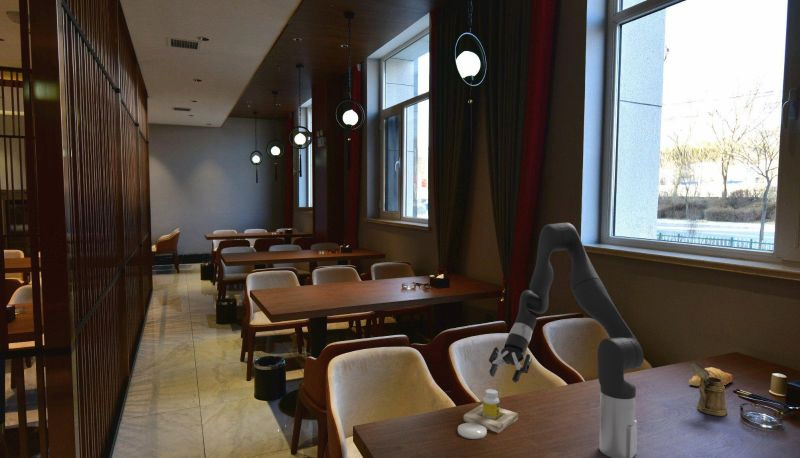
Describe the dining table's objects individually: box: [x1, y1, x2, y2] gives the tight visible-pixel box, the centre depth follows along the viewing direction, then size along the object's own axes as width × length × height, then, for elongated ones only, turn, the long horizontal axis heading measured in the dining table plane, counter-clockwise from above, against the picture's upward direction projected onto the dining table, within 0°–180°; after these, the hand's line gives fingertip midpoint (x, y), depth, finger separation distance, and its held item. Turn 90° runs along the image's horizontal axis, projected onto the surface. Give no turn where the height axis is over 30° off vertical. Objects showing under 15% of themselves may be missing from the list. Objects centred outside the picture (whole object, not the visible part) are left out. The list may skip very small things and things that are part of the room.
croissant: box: [688, 366, 734, 387], centre depth 194 cm, size 21×10×8 cm, turn 106°
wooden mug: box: [690, 362, 728, 417], centre depth 167 cm, size 9×14×18 cm, turn 110°
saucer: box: [457, 422, 488, 440], centre depth 151 cm, size 9×9×1 cm
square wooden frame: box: [463, 403, 519, 434], centre depth 160 cm, size 13×13×2 cm
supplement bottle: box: [482, 388, 500, 421], centre depth 159 cm, size 5×5×10 cm
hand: (502, 378), depth 165 cm, fingers open, 8 cm apart
